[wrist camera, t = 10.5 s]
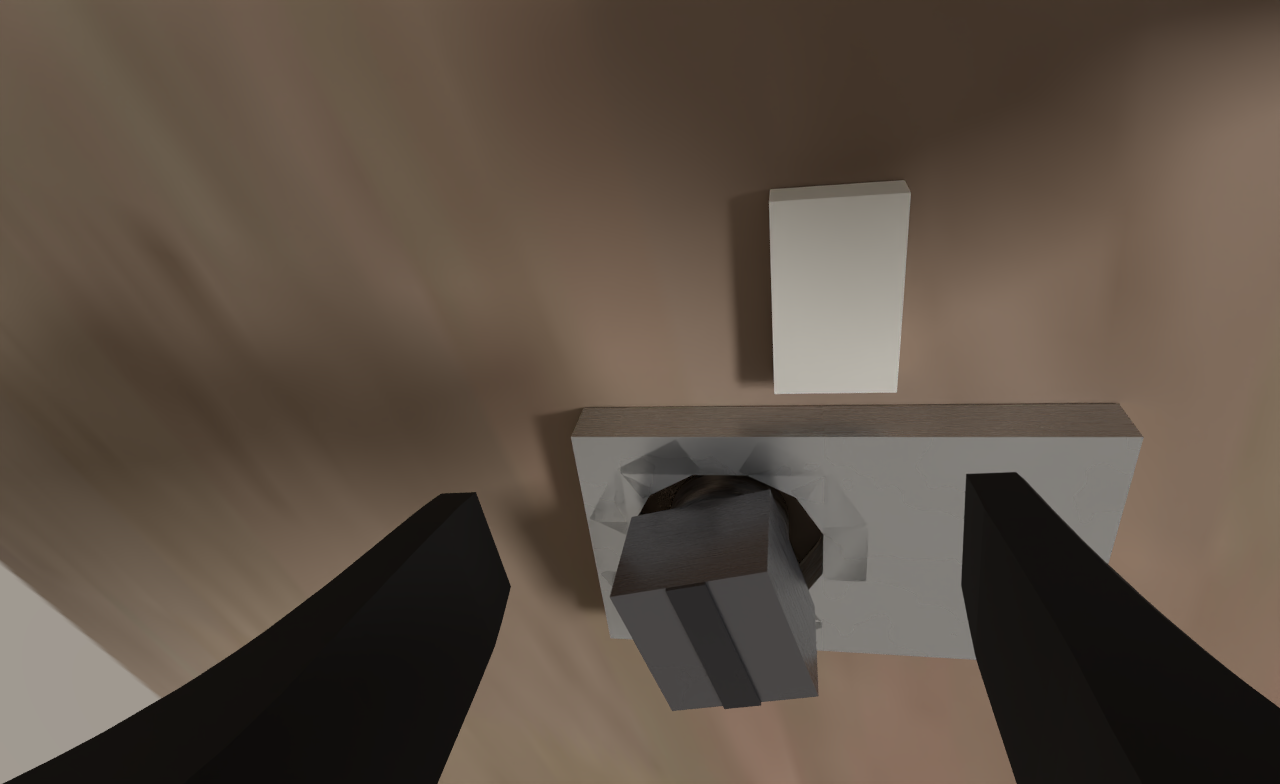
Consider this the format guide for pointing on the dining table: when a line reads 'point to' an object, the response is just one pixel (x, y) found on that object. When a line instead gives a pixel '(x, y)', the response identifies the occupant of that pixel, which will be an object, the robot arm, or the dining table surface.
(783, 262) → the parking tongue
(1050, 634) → the robot arm
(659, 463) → the flange plate
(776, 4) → the dining table surface
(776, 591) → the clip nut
